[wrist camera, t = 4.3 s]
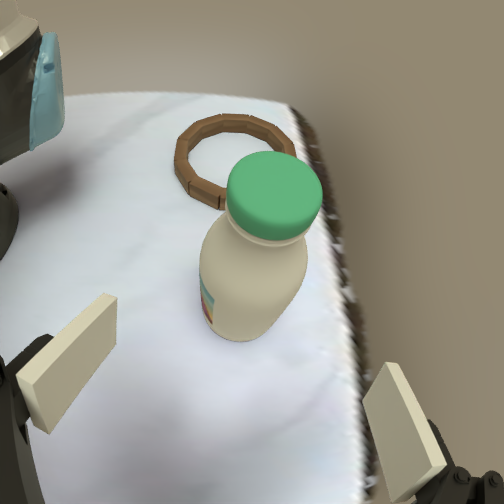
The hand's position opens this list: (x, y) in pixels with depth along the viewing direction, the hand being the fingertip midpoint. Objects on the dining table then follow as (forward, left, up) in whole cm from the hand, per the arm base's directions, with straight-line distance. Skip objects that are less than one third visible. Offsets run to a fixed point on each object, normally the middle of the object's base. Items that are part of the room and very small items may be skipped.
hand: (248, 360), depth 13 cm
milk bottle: (+1, +7, -17) cm, 18 cm away
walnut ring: (+1, +27, -17) cm, 32 cm away
